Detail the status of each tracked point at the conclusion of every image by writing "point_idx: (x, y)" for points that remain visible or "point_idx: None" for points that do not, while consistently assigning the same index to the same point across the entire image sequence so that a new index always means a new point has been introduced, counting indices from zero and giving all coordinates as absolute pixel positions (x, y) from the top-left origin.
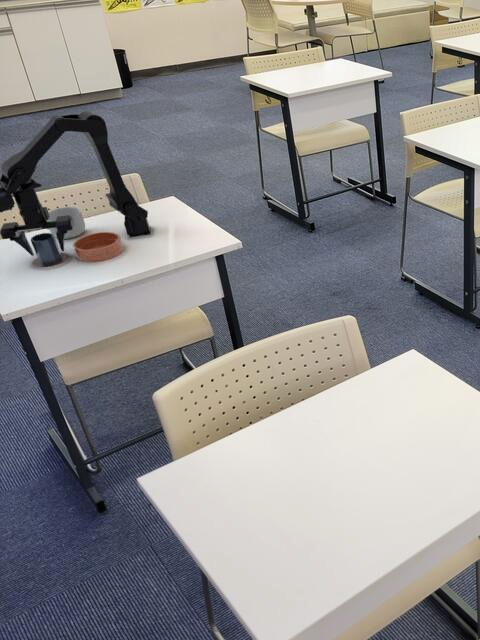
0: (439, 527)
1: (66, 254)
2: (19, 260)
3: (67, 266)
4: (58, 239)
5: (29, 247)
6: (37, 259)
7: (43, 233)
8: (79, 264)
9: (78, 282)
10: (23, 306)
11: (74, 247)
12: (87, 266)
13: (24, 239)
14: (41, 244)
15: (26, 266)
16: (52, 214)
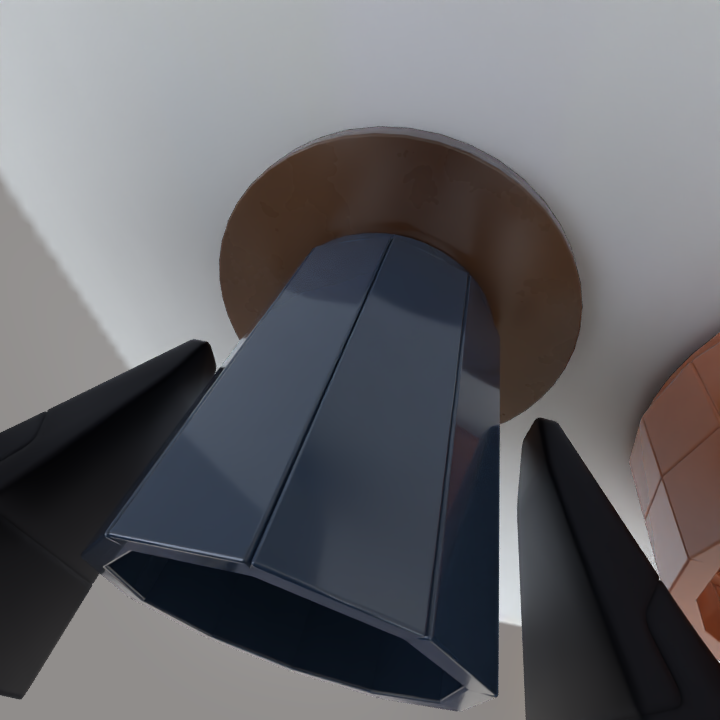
0: None
1: (564, 291)
2: (41, 108)
3: (502, 457)
4: (534, 709)
5: (147, 447)
6: (247, 255)
7: (254, 574)
8: (598, 478)
9: (511, 592)
10: None
11: (674, 592)
12: (635, 524)
13: (29, 577)
14: (306, 619)
15: (188, 299)
16: None
